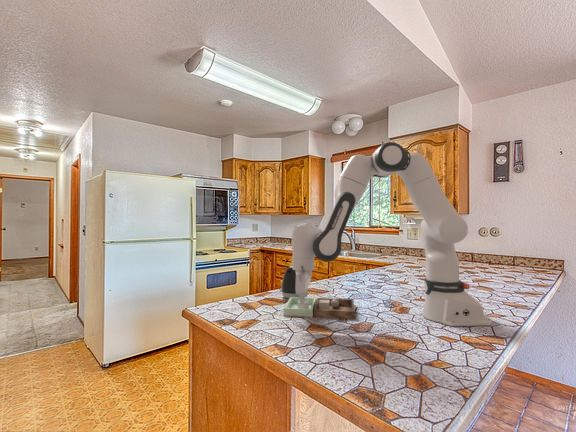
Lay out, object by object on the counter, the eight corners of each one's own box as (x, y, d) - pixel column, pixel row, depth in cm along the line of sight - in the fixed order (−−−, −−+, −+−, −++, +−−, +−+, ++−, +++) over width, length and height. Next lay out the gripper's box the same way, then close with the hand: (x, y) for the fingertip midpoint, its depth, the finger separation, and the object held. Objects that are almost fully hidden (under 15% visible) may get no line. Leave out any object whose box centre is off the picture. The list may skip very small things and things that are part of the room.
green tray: (316, 306, 128) (316, 297, 128) (312, 319, 112) (312, 309, 112) (290, 304, 130) (290, 296, 130) (283, 317, 114) (283, 308, 114)
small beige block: (309, 310, 120) (309, 300, 119) (308, 313, 116) (308, 303, 116) (299, 310, 120) (299, 300, 120) (297, 313, 116) (297, 303, 116)
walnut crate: (353, 307, 125) (353, 299, 125) (355, 321, 110) (355, 311, 110) (317, 306, 128) (317, 297, 128) (314, 319, 112) (313, 309, 112)
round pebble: (339, 306, 125) (339, 298, 125) (339, 309, 121) (339, 300, 121) (330, 306, 125) (330, 297, 125) (330, 308, 122) (330, 300, 122)
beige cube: (329, 309, 120) (329, 300, 120) (329, 313, 116) (329, 302, 116) (319, 309, 121) (319, 299, 121) (318, 312, 117) (318, 302, 117)
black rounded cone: (277, 300, 137) (277, 267, 137) (286, 294, 147) (285, 263, 147) (298, 302, 133) (298, 268, 133) (306, 296, 143) (305, 264, 143)
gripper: (308, 269, 107) (309, 308, 107) (313, 260, 127) (314, 293, 127) (291, 269, 108) (291, 307, 108) (298, 260, 128) (299, 292, 128)
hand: (303, 299), depth 118 cm, fingers open, 8 cm apart
